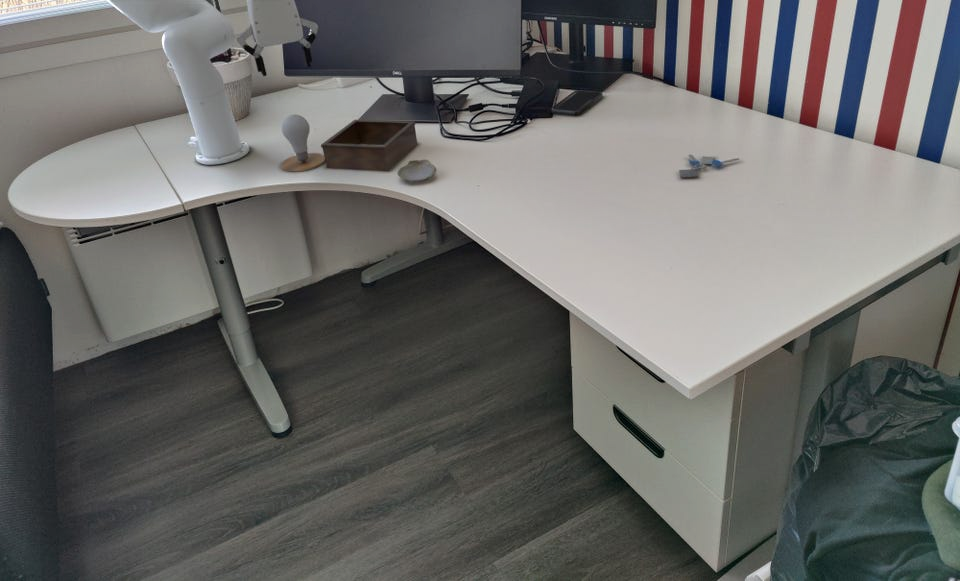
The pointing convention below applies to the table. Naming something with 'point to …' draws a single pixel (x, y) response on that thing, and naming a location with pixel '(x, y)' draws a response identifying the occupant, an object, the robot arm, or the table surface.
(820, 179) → the table surface
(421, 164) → the seashell
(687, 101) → the table surface
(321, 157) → the coaster
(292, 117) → the lightbulb
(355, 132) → the wooden frame
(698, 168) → the key chain
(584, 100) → the phone
